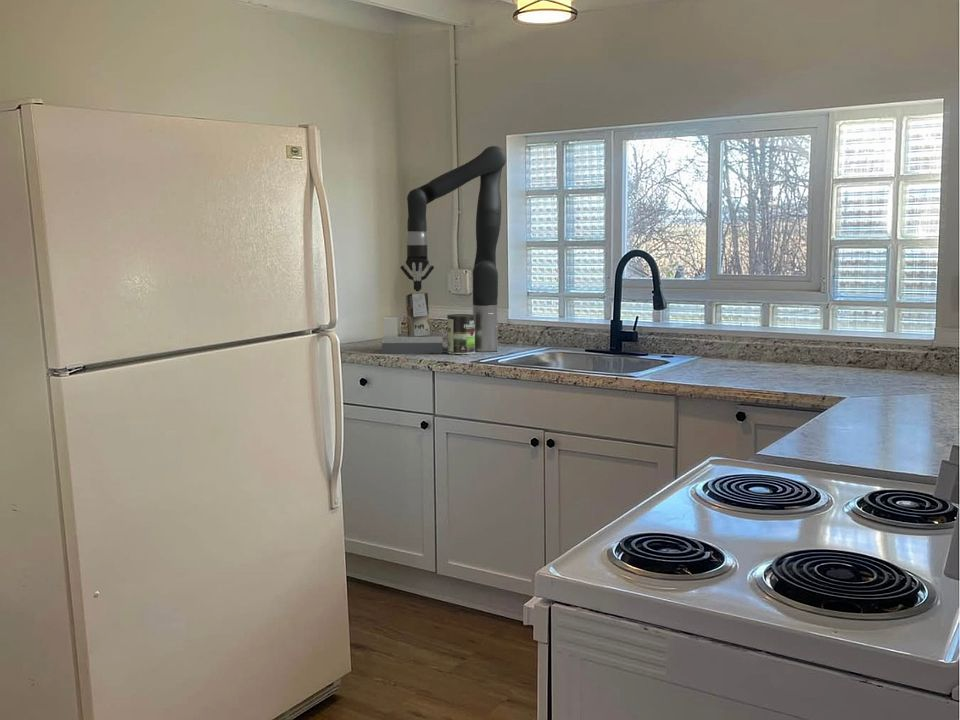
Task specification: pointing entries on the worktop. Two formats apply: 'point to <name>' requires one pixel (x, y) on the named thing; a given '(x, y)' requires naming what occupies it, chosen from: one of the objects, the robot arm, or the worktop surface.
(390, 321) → the block
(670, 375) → the worktop surface
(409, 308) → the coffee box
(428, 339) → the rail
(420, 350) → the rail base
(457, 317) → the coffee can
